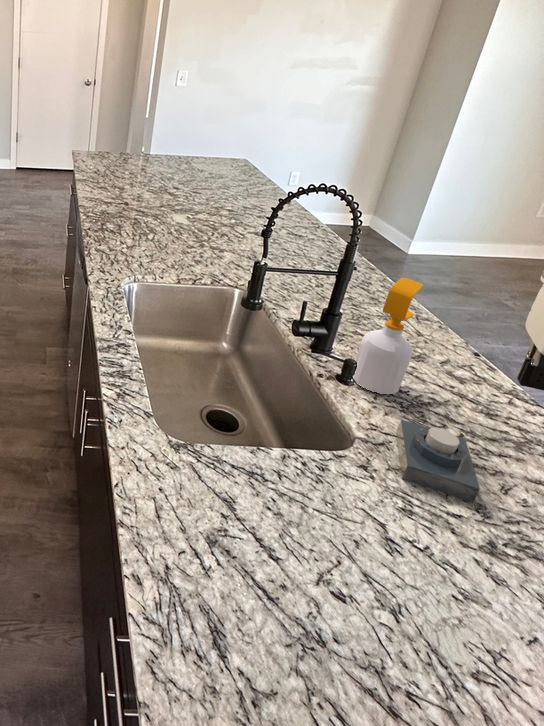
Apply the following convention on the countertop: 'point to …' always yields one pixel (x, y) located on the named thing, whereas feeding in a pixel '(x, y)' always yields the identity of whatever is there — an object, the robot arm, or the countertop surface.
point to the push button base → (435, 463)
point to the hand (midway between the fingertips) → (531, 384)
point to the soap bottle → (388, 343)
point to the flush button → (442, 440)
